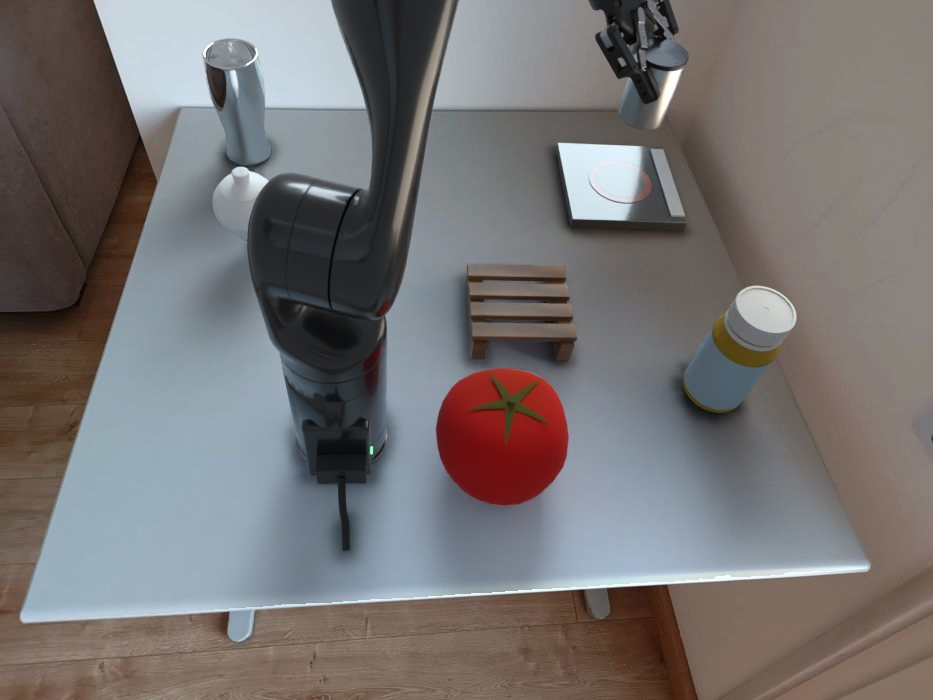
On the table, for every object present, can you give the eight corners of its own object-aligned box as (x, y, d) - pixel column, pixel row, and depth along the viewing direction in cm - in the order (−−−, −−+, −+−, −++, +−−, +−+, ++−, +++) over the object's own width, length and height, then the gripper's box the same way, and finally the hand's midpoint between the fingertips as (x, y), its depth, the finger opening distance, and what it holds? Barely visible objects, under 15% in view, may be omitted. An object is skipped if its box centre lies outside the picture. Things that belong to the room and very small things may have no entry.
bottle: (697, 421, 80) (752, 342, 68) (670, 370, 84) (719, 287, 72) (750, 409, 82) (814, 330, 70) (722, 360, 86) (778, 277, 74)
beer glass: (220, 139, 100) (197, 39, 88) (270, 133, 102) (255, 35, 90) (226, 171, 97) (203, 72, 85) (278, 164, 98) (263, 66, 86)
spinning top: (293, 261, 88) (282, 187, 79) (230, 275, 86) (211, 200, 77) (279, 219, 92) (266, 144, 83) (218, 231, 90) (198, 155, 81)
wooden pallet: (571, 360, 84) (578, 341, 80) (469, 359, 82) (472, 340, 79) (558, 282, 91) (564, 262, 87) (464, 280, 89) (466, 260, 86)
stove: (683, 230, 98) (688, 220, 97) (570, 227, 97) (573, 217, 95) (659, 154, 108) (663, 144, 106) (555, 150, 106) (557, 140, 104)
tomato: (454, 536, 70) (465, 484, 60) (420, 418, 77) (425, 356, 68) (574, 506, 73) (603, 453, 63) (530, 395, 80) (550, 333, 71)
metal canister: (669, 132, 90) (694, 68, 83) (621, 129, 90) (642, 65, 83) (659, 102, 94) (682, 38, 87) (613, 99, 93) (632, 35, 86)
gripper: (601, -39, 75) (666, 106, 81) (660, -83, 82) (715, 53, 89) (549, -8, 80) (613, 125, 87) (608, -52, 88) (663, 74, 94)
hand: (664, 88), depth 88 cm, fingers closed on metal canister, 6 cm apart
